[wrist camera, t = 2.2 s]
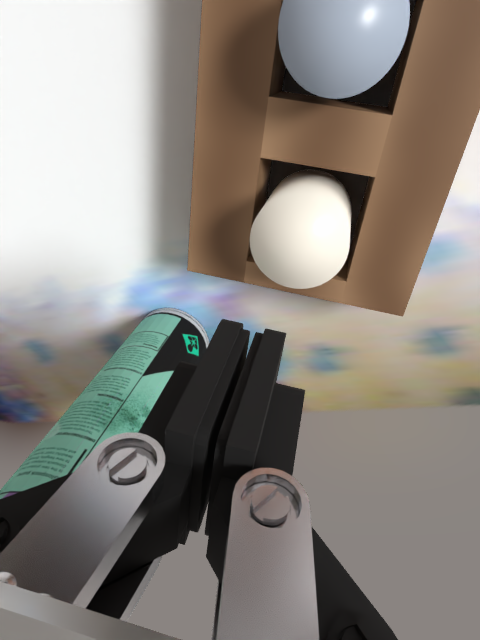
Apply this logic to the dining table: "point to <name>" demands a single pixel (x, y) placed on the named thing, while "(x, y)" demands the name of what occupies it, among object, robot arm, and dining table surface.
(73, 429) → the spray can
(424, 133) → the wooden egg holder
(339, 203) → the cream cylinder
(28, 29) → the dining table surface
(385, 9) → the blue-grey egg
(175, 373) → the robot arm
